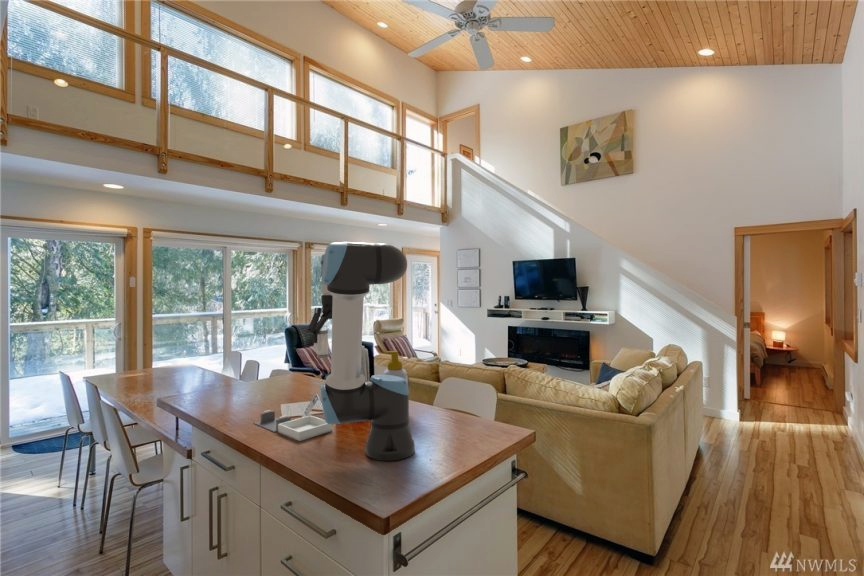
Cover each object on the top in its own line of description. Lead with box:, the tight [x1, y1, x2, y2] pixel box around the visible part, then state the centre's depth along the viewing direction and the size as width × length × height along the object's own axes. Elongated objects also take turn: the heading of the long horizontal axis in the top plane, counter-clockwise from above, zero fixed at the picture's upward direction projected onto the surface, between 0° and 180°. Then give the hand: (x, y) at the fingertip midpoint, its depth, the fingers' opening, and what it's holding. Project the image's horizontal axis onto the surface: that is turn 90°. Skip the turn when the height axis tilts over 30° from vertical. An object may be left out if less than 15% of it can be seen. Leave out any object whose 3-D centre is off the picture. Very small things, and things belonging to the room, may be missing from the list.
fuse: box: [316, 329, 330, 359], centre depth 162 cm, size 4×4×10 cm
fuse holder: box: [253, 409, 292, 433], centre depth 158 cm, size 15×9×4 cm, turn 50°
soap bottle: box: [382, 350, 407, 381], centre depth 170 cm, size 9×9×25 cm
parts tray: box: [277, 414, 333, 442], centre depth 151 cm, size 13×13×3 cm
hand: (331, 349), depth 165 cm, fingers open, 13 cm apart
